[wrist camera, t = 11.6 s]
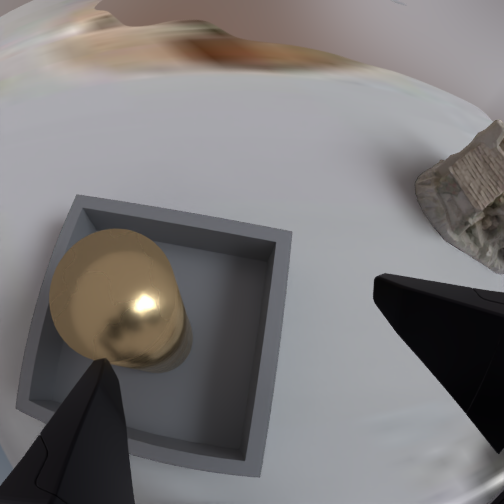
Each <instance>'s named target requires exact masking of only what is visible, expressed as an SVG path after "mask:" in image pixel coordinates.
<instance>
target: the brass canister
mask: <svg viewBox="0 0 504 504" xmlns="http://www.w3.org/2000/svg"><path fill="white" fill-rule="evenodd" d="M49 305H50V312H51V316H52V320H53V322H54V325H55V327H56V329H57V331H58V333H59V335H60V336H61V337H62V339H63V340H64V341H65V342H66V343H67V344H68V346H69V347H71V348H72V349H73V350H74V351H76V352H77V353H79V354H81V355H82V356H84V357H87V358H89V359H92V360H96V359H101V358H107V359H108V360H109V362H110V364H113V365H117V366H122V367H126V368H131V369H136V370H141V371H146V372H151V373H164V372H168V371H171V370H173V369H175V368H177V367H178V366H179V365H181V364H182V363H183V362H184V361H185V359H186V358H187V356H188V355H189V353H190V350H191V347H192V342H193V333H192V328H191V324H190V322H189V319H188V316H187V313H186V310H185V307H184V304H183V301H182V298H181V295H180V292H179V288H178V285H177V282H176V279H175V276H174V273H173V270H172V267H171V265H170V262H169V260H168V259H167V257H166V255H165V254H164V252H163V251H162V250H161V249H160V248H159V247H158V246H157V245H156V244H155V243H154V242H153V241H152V240H150V239H149V238H147V237H146V236H144V235H142V234H140V233H137V232H135V231H131V230H127V229H106V230H101V231H98V232H95V233H92V234H90V235H88V236H86V237H84V238H82V239H81V240H79V241H78V242H77V243H75V244H74V245H73V246H72V247H71V248H70V249H69V250H68V251H67V252H66V253H65V255H64V256H63V257H62V259H61V260H60V262H59V264H58V266H57V267H56V269H55V272H54V275H53V277H52V281H51V285H50V292H49Z"/></svg>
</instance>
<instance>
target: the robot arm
mask: <svg viewBox="0 0 504 504" xmlns="http://www.w3.org/2000/svg"><path fill="white" fill-rule="evenodd" d="M373 300H374V302H375V304H376V306H377V307H378V308H379V310H380V311H381V312H382V314H383V315H384V316H385V318H386V319H387V320H388V322H389V323H390V325H391V326H392V327H393V329H394V330H395V331H396V333H397V334H398V335H399V336H400V337H401V338H402V340H403V341H404V342H405V343H406V344H407V345H408V346H409V347H410V349H411V350H412V351H413V352H414V353H415V354H416V355H417V357H418V358H419V359H420V360H421V361H422V362H423V363H424V365H425V366H426V367H427V368H428V369H429V370H430V371H431V373H432V374H433V375H434V376H435V377H436V378H437V380H438V381H439V382H440V383H441V384H442V385H443V387H444V388H445V389H446V390H447V391H448V393H449V394H450V395H451V396H452V397H453V399H454V400H455V401H456V402H457V403H458V405H459V406H460V407H461V408H462V410H463V411H464V412H465V413H466V415H467V416H468V417H469V418H470V420H471V421H472V422H473V423H474V425H475V426H476V427H477V428H478V430H479V431H480V432H481V433H482V435H483V436H484V437H485V439H486V440H487V441H488V442H489V444H490V445H491V446H492V448H493V449H494V450H495V451H496V452H497V453H498V454H500V453H501V452H502V451H503V450H504V292H496V291H489V290H482V289H476V288H473V289H472V288H470V287H464V286H458V285H452V284H446V283H440V282H435V281H429V280H423V279H417V278H411V277H405V276H399V275H393V274H387V273H384V274H381V275H379V276H376V277H375V279H374V291H373ZM0 504H135V501H134V494H133V487H132V479H131V470H130V461H129V450H128V438H127V426H126V420H125V414H124V408H123V402H122V396H121V389H120V383H119V380H118V377H117V375H116V373H115V372H114V370H113V368H112V366H111V364H110V362H109V360H108V359H107V358H101V359H96V360H94V361H93V362H92V363H91V365H90V366H89V367H88V369H87V370H86V371H85V373H84V374H83V375H82V377H81V378H80V379H79V381H78V382H77V383H76V385H75V386H74V387H73V389H72V390H71V391H70V393H69V394H68V395H67V397H66V398H65V399H64V401H63V402H62V403H61V405H60V406H59V408H58V409H57V410H56V412H55V413H54V415H53V416H52V417H51V419H50V420H49V422H48V423H47V424H46V426H45V427H44V429H43V430H42V431H41V433H40V435H39V436H38V437H37V439H36V440H35V441H34V443H33V444H32V446H31V447H30V448H29V450H28V451H27V453H26V454H25V455H24V457H23V458H22V459H21V461H20V462H19V463H18V464H17V466H16V467H15V468H14V469H13V471H12V472H11V473H10V474H9V476H8V477H7V478H6V479H5V481H4V482H3V483H2V485H1V486H0ZM487 504H504V487H503V488H502V489H501V490H500V491H499V492H498V493H497V494H496V495H495V496H494V497H493V498H492V499H491V500H490V501H489V502H488V503H487Z"/></svg>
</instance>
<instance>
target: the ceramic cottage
mask: <svg viewBox="0 0 504 504" xmlns="http://www.w3.org/2000/svg"><path fill="white" fill-rule="evenodd" d="M415 190H416V196H417V201H418V202H419V204H420V206H421V208H422V210H423V212H424V214H425V215H426V216H427V218H428V219H429V221H430V222H431V224H432V225H433V226H434V228H435V229H436V230H438V232H439V233H440V235H441V236H442V237H443V238H444V240H445V241H447V242H448V243H450V244H451V245H454V246H455V247H457V248H458V249H459V250H461V251H464V253H466V254H468V255H469V256H471V257H473V259H476V260H478V261H479V262H481V263H482V264H483V265H485V266H486V267H488V268H489V269H491V270H492V271H494V272H495V273H498V274H504V123H503V122H502V121H501V120H500V119H499V120H495V121H494V122H493V123H492V124H491V125H490V126H488V127H487V128H486V129H485V130H483V131H481V132H479V133H478V134H477V135H476V136H475V138H474V139H473V140H472V142H471V143H470V144H469V145H468V146H466V147H465V148H464V149H463V150H462V151H460V152H459V153H456V154H453V155H450V156H449V157H448V158H447V159H446V160H440V161H439V163H437V164H436V165H435V166H433V167H432V168H429V169H428V170H427V171H425V172H424V173H422V174H421V175H420V176H419V177H418V178H417V180H416V182H415Z"/></svg>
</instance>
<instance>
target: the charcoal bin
mask: <svg viewBox="0 0 504 504" xmlns="http://www.w3.org/2000/svg"><path fill="white" fill-rule="evenodd" d="M106 229H127V230H131V231H135V232H137V233H140V234H142V235H144V236H146V237H147V238H149V239H150V240H152V241H153V242H154V243H155V244H156V245H157V246H158V247H159V248H160V249H161V250H162V251H163V252H164V254H165V255H166V257H167V259H168V260H169V262H170V265H171V267H172V270H173V273H174V276H175V279H176V282H177V285H178V288H179V292H180V295H181V298H182V301H183V304H184V307H185V310H186V313H187V316H188V319H189V322H190V324H191V328H192V333H193V342H192V347H191V350H190V353H189V355H188V356H187V358H186V359H185V361H184V362H183V363H182V364H181V365H179V366H178V367H177V368H175V369H173V370H171V371H168V372H164V373H151V372H146V371H141V370H136V369H131V368H126V367H122V366H117V365H113V364H111V366H112V368H113V370H114V372H115V373H116V375H117V377H118V380H119V383H120V389H121V396H122V402H123V408H124V414H125V420H126V426H127V438H128V450H129V454H131V455H134V456H138V457H142V458H146V459H150V460H154V461H158V462H162V463H166V464H171V465H175V466H180V467H185V468H191V469H196V470H202V471H208V472H215V473H222V474H230V475H238V476H248V477H260V474H261V468H262V462H263V456H264V450H265V444H266V438H267V432H268V425H269V419H270V412H271V405H272V398H273V391H274V384H275V377H276V370H277V362H278V355H279V347H280V339H281V331H282V323H283V315H284V306H285V298H286V289H287V280H288V270H289V261H290V251H291V241H292V231H286V230H281V229H276V228H271V227H266V226H260V225H255V224H250V223H244V222H239V221H234V220H228V219H223V218H217V217H212V216H206V215H200V214H195V213H189V212H183V211H177V210H171V209H166V208H160V207H154V206H148V205H141V204H135V203H129V202H123V201H116V200H110V199H104V198H97V197H90V196H84V195H76V197H75V199H74V202H73V204H72V206H71V208H70V211H69V213H68V215H67V218H66V220H65V223H64V225H63V228H62V230H61V233H60V235H59V238H58V240H57V243H56V245H55V248H54V251H53V254H52V256H51V259H50V262H49V265H48V268H47V271H46V274H45V277H44V280H43V283H42V286H41V290H40V293H39V296H38V300H37V303H36V307H35V311H34V314H33V318H32V322H31V326H30V330H29V334H28V339H27V343H26V348H25V353H24V358H23V363H22V368H21V374H20V380H19V386H18V393H17V401H16V409H17V410H19V411H21V412H23V413H25V414H27V415H29V416H31V417H33V418H36V419H38V420H40V421H42V422H44V423H46V424H47V423H48V422H49V420H50V419H51V417H52V416H53V415H54V413H55V412H56V410H57V409H58V408H59V406H60V405H61V403H62V402H63V401H64V399H65V398H66V397H67V395H68V394H69V393H70V391H71V390H72V389H73V387H74V386H75V385H76V383H77V382H78V381H79V379H80V378H81V377H82V375H83V374H84V373H85V371H86V370H87V369H88V367H89V366H90V365H91V363H92V362H93V361H94V360H92V359H89V358H87V357H84V356H82V355H81V354H79V353H77V352H76V351H74V350H73V349H72V348H71V347H69V346H68V344H67V343H66V342H65V341H64V340H63V339H62V337H61V336H60V335H59V333H58V331H57V329H56V327H55V325H54V322H53V320H52V316H51V312H50V305H49V292H50V285H51V281H52V277H53V275H54V272H55V269H56V267H57V266H58V264H59V262H60V260H61V259H62V257H63V256H64V255H65V253H66V252H67V251H68V250H69V249H70V248H71V247H72V246H73V245H74V244H75V243H77V242H78V241H79V240H81V239H82V238H84V237H86V236H88V235H90V234H92V233H95V232H98V231H101V230H106Z"/></svg>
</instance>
